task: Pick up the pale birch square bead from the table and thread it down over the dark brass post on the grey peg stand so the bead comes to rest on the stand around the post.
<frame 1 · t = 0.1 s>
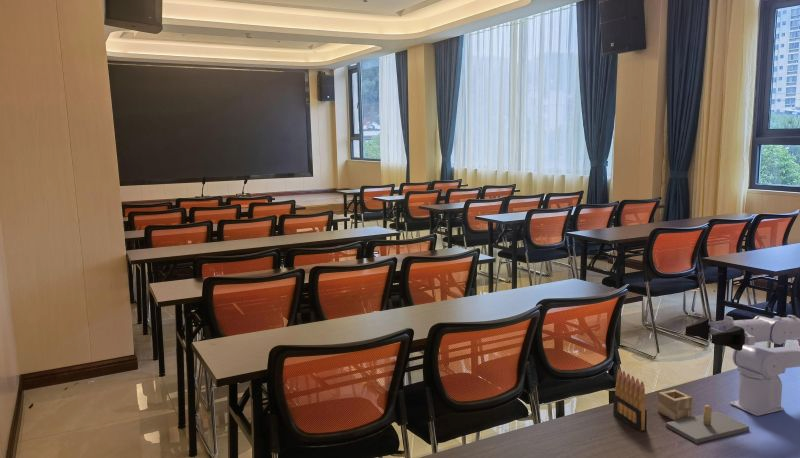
hand: (699, 334, 142), 22 cm above the table, tool horizontal, fingers open, 7 cm apart
grey peg stand: (706, 428, 141), on the table
ammunition clip: (629, 422, 146), on the table
bead: (674, 414, 149), on the table
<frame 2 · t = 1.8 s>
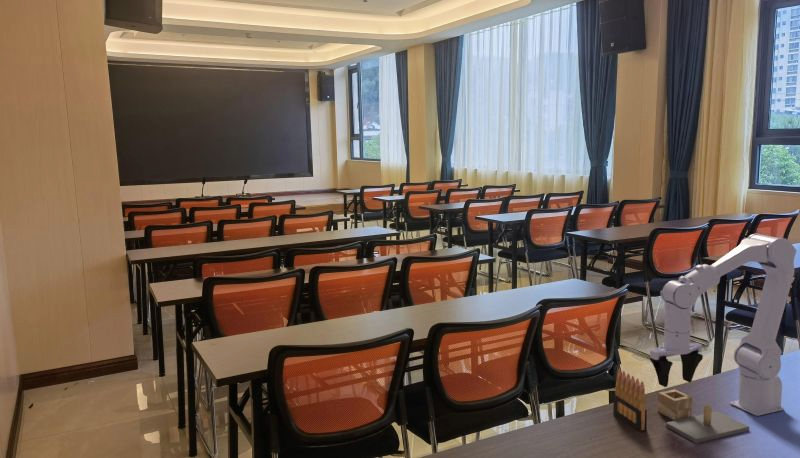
hand: (675, 383, 148), 8 cm above the table, tool pointing down, fingers open, 7 cm apart
nothing on the table moved.
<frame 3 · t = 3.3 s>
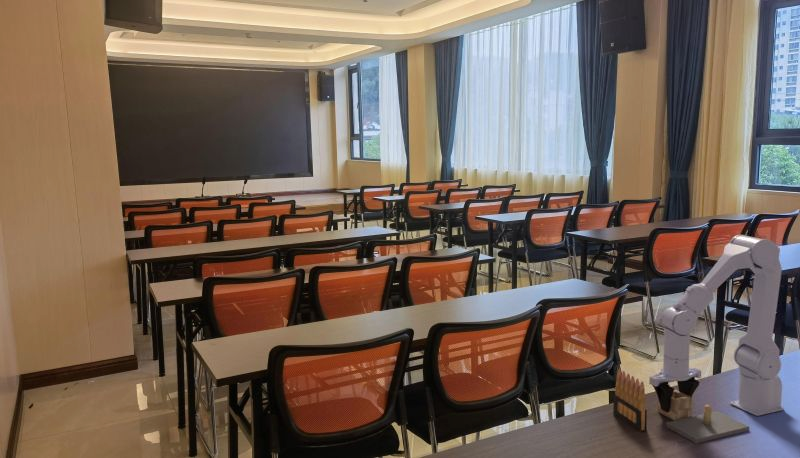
hand: (674, 408, 149), 1 cm above the table, tool pointing down, fingers closed on bead, 5 cm apart
bead: (674, 414, 149), on the table, touching gripper
everything else where it was.
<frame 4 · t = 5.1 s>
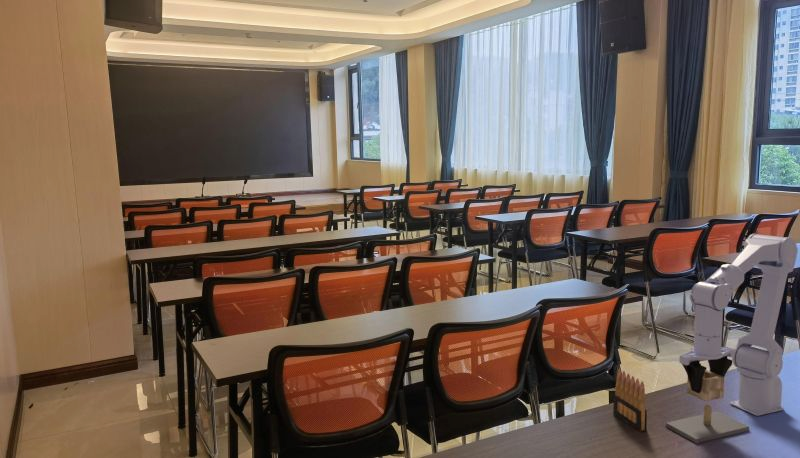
hand: (705, 389, 140), 9 cm above the table, tool pointing down, fingers closed on bead, 5 cm apart
bead: (705, 395, 141), point 8 cm above the table, touching gripper
everything else where it was.
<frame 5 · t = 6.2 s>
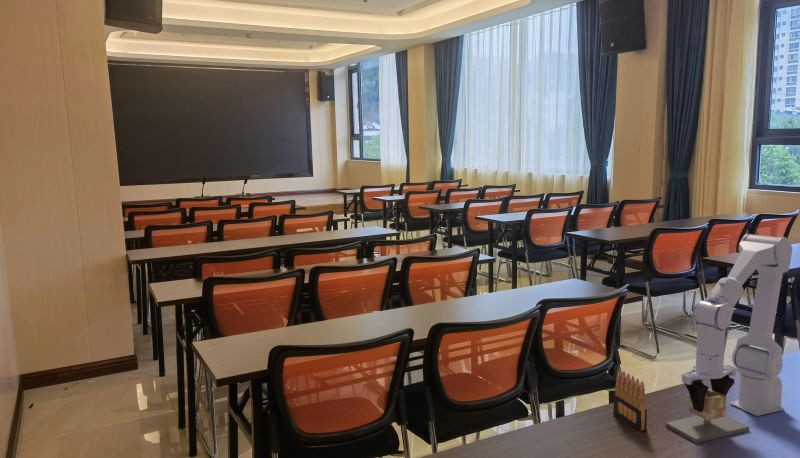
hand: (707, 408, 140), 5 cm above the table, tool pointing down, fingers closed on bead, 5 cm apart
bead: (707, 413, 141), point 4 cm above the table, touching gripper
everything else where it was.
when the fingers open (5 cm above the table, at t = 7.2 s): bead drops 2 cm, resting on grey peg stand.
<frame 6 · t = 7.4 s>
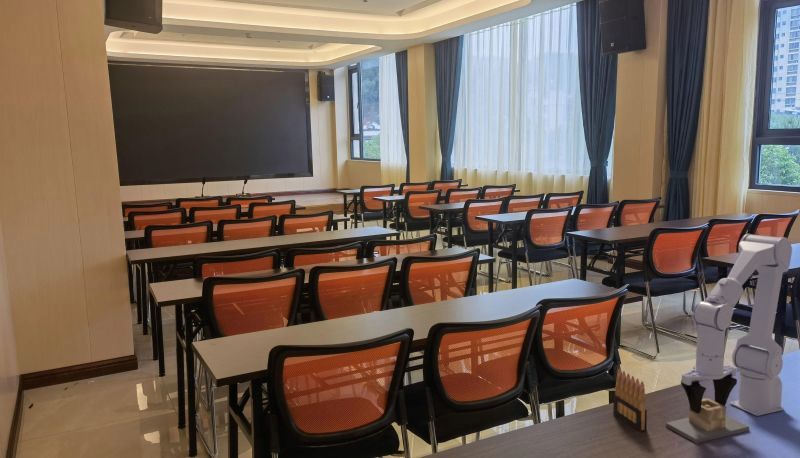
hand: (707, 408, 140), 5 cm above the table, tool pointing down, fingers open, 7 cm apart
bead: (706, 424, 141), point 1 cm above the table, touching grey peg stand
everything else where it was.
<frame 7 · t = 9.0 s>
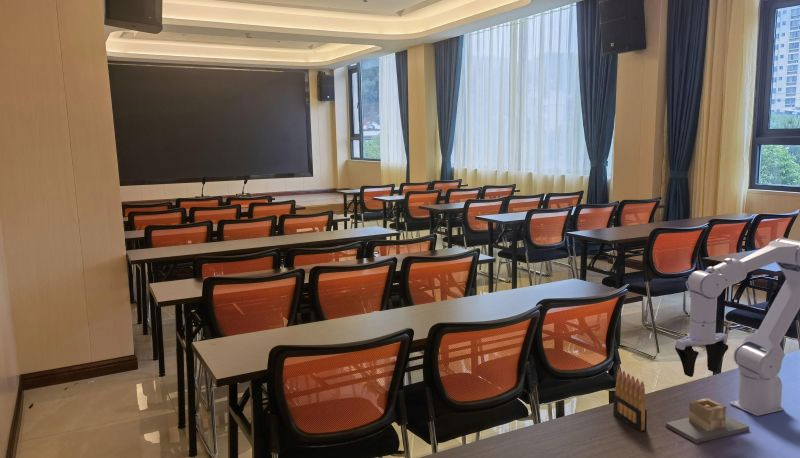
hand: (700, 373, 148), 10 cm above the table, tool pointing down, fingers open, 7 cm apart
nothing on the table moved.
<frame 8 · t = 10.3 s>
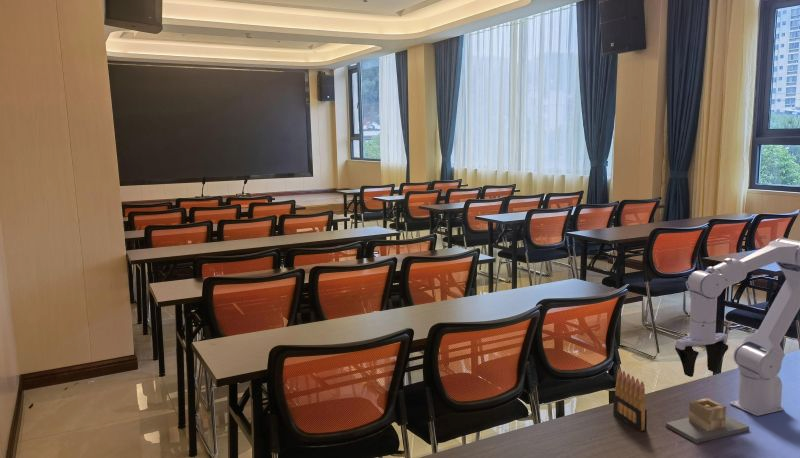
hand: (700, 373, 148), 10 cm above the table, tool pointing down, fingers open, 7 cm apart
nothing on the table moved.
at the end: bead 0.1 cm off-centre on the grey peg stand, point 1.0 cm above the grey peg stand's base; the gripper is holding nothing; bead tilted 0° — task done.
